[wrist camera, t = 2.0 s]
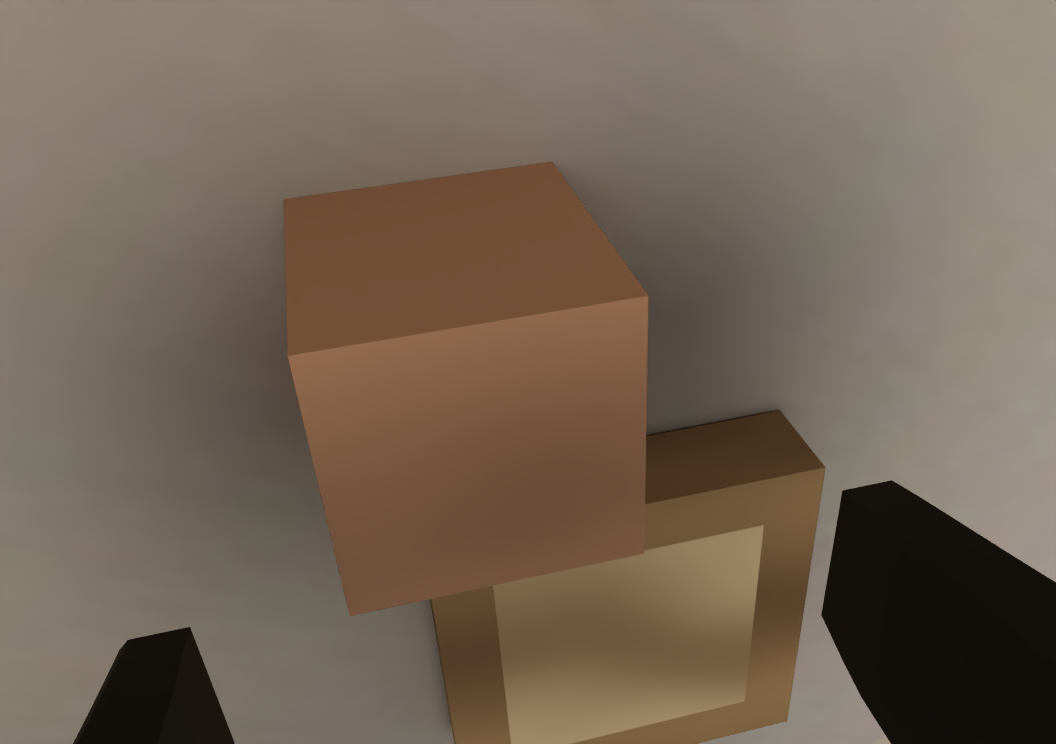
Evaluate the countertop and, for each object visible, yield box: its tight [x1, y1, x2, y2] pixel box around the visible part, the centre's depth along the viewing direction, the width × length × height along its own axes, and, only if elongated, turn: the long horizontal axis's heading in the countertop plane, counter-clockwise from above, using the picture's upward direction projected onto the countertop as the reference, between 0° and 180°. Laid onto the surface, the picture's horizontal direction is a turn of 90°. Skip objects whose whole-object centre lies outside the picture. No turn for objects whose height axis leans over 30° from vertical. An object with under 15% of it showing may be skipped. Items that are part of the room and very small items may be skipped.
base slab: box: [430, 411, 825, 744], centre depth 21 cm, size 8×8×2 cm
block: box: [284, 162, 648, 616], centre depth 15 cm, size 4×4×5 cm
